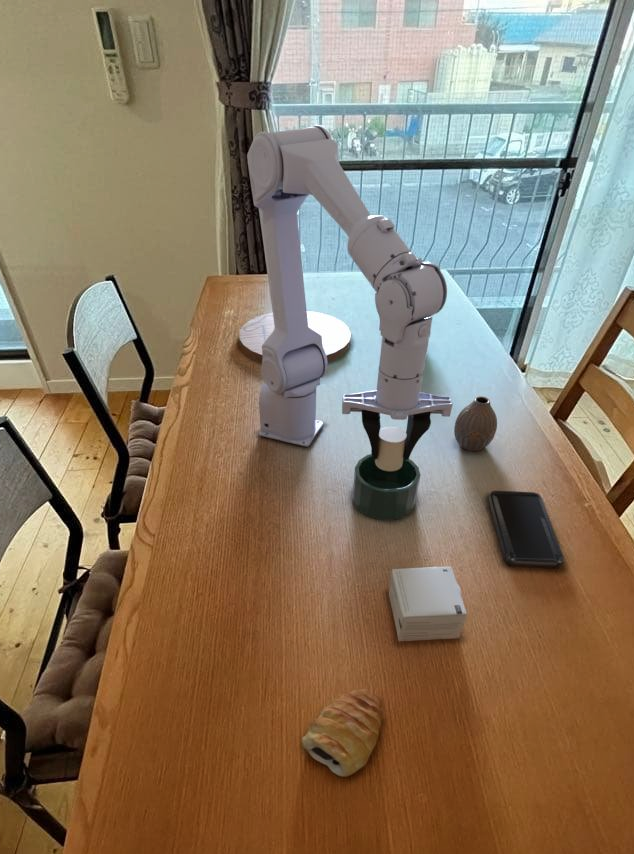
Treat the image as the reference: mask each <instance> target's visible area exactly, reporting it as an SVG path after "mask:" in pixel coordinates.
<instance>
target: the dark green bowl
mask: <svg viewBox="0 0 634 854" xmlns="http://www.w3.org/2000/svg"><path fill="white" fill-rule="evenodd" d="M420 471H421V470H420V468H419V466H418V465H417V464H416V463H415V462H414V461H413V460H412V459H410V458H409V459H408V460H404V458H403V464H402V467H401V468H400V469H398V470H396V471H384V470H382V469H380V468H378V467H377V466H376V464H375V459H372V453H370V454H366V455H364V456H363V457H362V458H361V459H359V460H358V461H357V463H356V464H355V467H354V474H353V485H352V501H353V504H354V506H355V508H357V510H358V511H359V512H360V513H362V514H363V515H365V516H367V517H369V518H372V519H376V520H382V521H393V520H398V519H401V518H404V517H406V516H407V515H409V514H410V513H411V512H412V510H413V509H414V507H415V503H416V500H417V496H418V491H419V490H418V489H419V486H420V480H421V472H420Z"/></svg>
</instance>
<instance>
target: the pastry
mask: <svg viewBox="0 0 634 854" xmlns="http://www.w3.org/2000/svg"><path fill="white" fill-rule="evenodd" d="M383 714H384V711H383V707H382V704H381V702H380V700H379V699H378V698H377V697H376V696H375V695H374V694H372V693H371V692H370V691H369V690H368V689H367V688H360V689H353V690H351V691H350V692H345V693H343V694H341V695H340V697H338V698H336V699H334V700H333V701H331V703H330V704H329V705H328V706H327V705H326V706H325V707H323V709H322V710H321V712H320V714H319V715H318V716H317V718H314V719H313V720H312V721H311V722H310V724H309V727H308V730H307V732H306V734H304V736H303V737H302V738H301V745H302V747H303V748H304V749H305V750H306V751H307V753H308V754H309V755H310V756H311V757H312V758H313V759H314V760H315V761H317V762H319V763H320V764H323V765H325V766H327V767H328V768H329V770H330V771H331V772H332V773H333V774H335V775H337V776H338V777H345V778H346V777H349V776H353V775H354V774H355V773H356V772H357V771H359V770H360V769H362V768H364V766H366V765H367V763H368V762H369V758H370V756H371V754H372V753H373V750H374V748H375V747H376V745H377V741H378V740H377V739H378V738H379V734H380V733H379V732H380V728H381V725H382V723H381V722H382V720H383V719H382V718H383Z"/></svg>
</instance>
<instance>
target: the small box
mask: <svg viewBox="0 0 634 854" xmlns="http://www.w3.org/2000/svg"><path fill="white" fill-rule="evenodd" d="M457 581H458V580H457V578H456V575H455V572H454V569H453V567H452V566H430V567H429V566H428V567H409V568H392V571H391V575H390V582H389V588H388V597H389V601H390V607H391V610H392V616H393V620H394V624H395V630H396V635H397V641H398V642H410V641H413V642H414V641H432V640H450V639H451V640H452V639H460V636H461V633H462V630H463V627H464V624H465V622H466V618H467V616H468V613H467V610H466V606H465V602H464V600H463V596H462V589H461V586H460V585H459V584H458V582H457Z"/></svg>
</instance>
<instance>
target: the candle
mask: <svg viewBox="0 0 634 854" xmlns="http://www.w3.org/2000/svg"><path fill="white" fill-rule="evenodd" d="M406 439H407V434H406V431H405V430H403V429H402V428H400V427H398V426H385V427H383V428H380V432H379V438H378V455H377V459H375V464H376V466H377V467H378V468H380V469H382V470H384V471H396V470H398V469H400V468H401V467H402V464H403V458H404V451H405V445H406Z"/></svg>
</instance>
